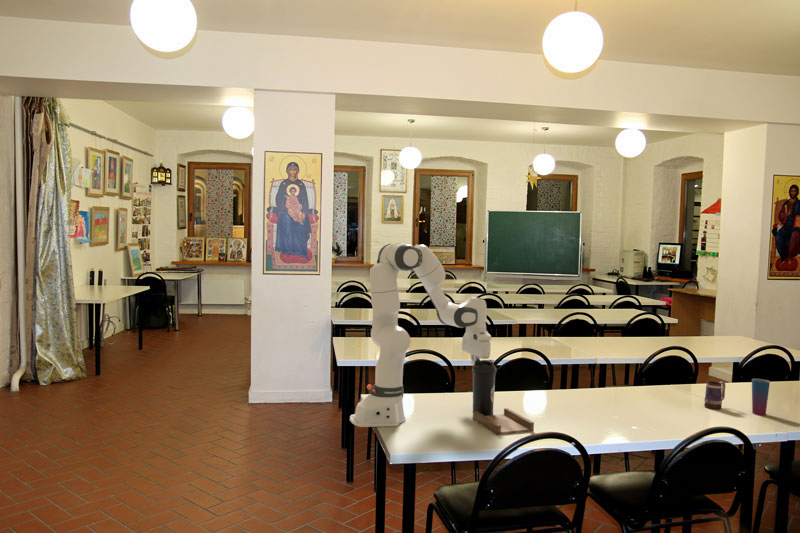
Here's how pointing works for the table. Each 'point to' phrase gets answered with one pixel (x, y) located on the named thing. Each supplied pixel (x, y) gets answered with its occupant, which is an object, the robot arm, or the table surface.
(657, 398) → the table surface
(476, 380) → the water bottle
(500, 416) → the cradle
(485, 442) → the table surface
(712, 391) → the mug
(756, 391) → the cup
